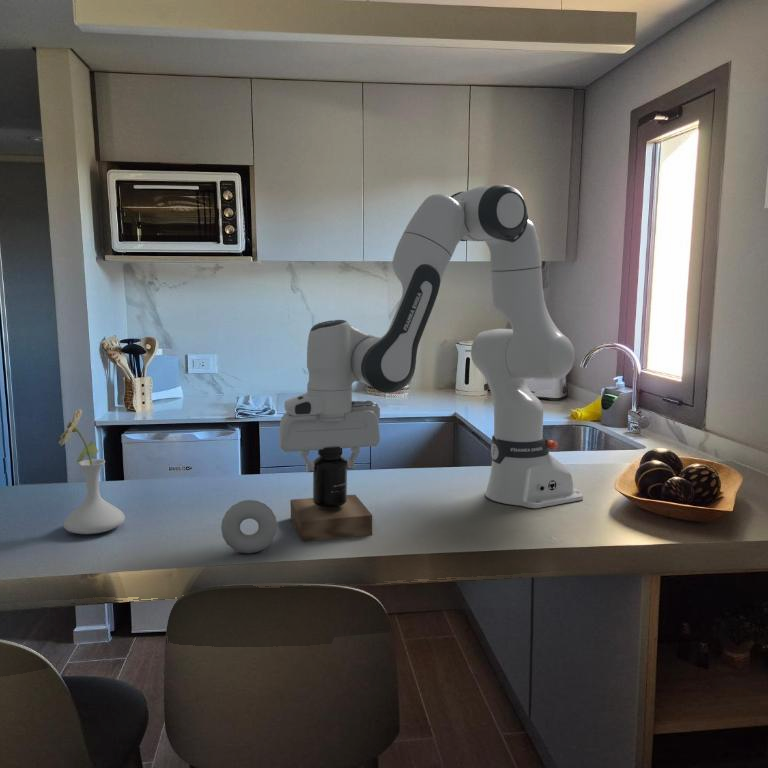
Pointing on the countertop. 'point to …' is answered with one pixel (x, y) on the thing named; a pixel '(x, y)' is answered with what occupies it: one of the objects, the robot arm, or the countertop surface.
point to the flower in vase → (90, 492)
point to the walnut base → (330, 519)
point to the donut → (249, 511)
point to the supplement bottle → (330, 478)
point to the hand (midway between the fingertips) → (330, 470)
